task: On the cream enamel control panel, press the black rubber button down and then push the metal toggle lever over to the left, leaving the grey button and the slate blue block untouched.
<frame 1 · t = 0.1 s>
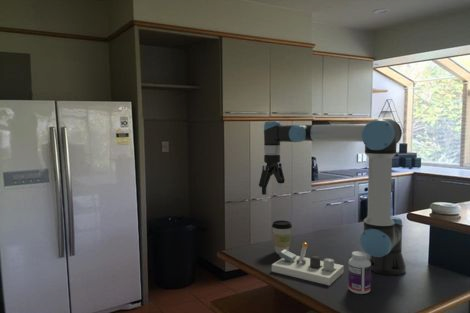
hand: (272, 198, 181), 28 cm above the kitchen island, fingers open, 13 cm apart
panel: (307, 271, 163), on the kitchen island
button grey: (328, 265, 157), point 5 cm above the kitchen island, slide at 0.0 cm
pill bottle: (359, 291, 144), on the kitchen island
lever: (303, 252, 166), point 7 cm above the kitchen island, hinge at 30.0°
slate blue block: (287, 255, 168), point 5 cm above the kitchen island, hinge at -15.0°
coffee cup: (282, 252, 188), on the kitchen island
button black: (315, 262, 161), point 5 cm above the kitchen island, slide at 0.0 cm
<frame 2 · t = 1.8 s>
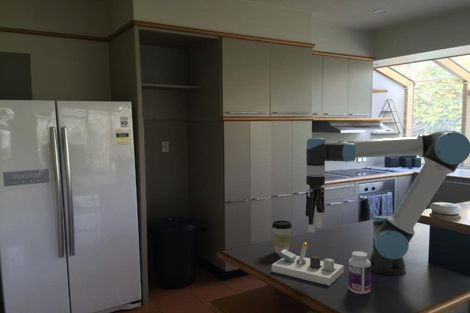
hand: (315, 229, 160), 19 cm above the kitchen island, fingers open, 7 cm apart
nothing on the kitchen island moved.
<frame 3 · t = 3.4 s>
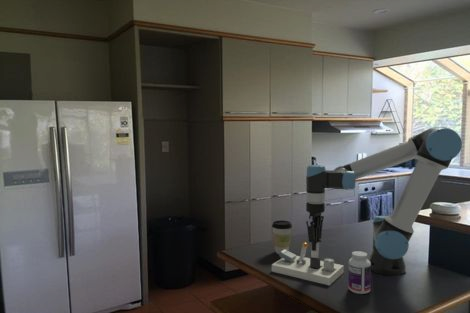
hand: (314, 257, 161), 7 cm above the kitchen island, fingers closed
button black: (315, 262, 161), point 5 cm above the kitchen island, slide at -0.2 cm, touching gripper
everything else where it was.
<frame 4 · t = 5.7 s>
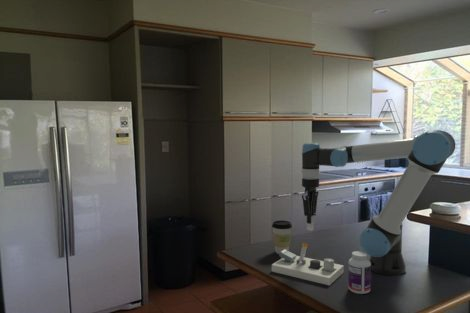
hand: (310, 229, 171), 16 cm above the kitchen island, fingers closed
button black: (315, 266, 161), point 3 cm above the kitchen island, slide at -1.8 cm
everything else where it was.
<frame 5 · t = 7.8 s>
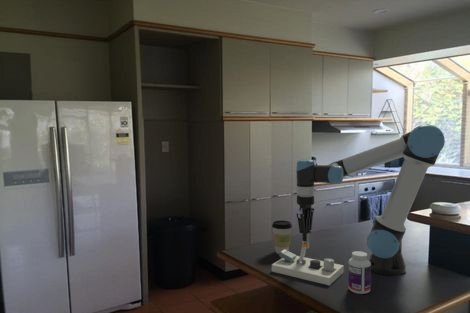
hand: (305, 247, 169), 9 cm above the kitchen island, fingers closed
lever: (303, 252, 166), point 8 cm above the kitchen island, hinge at 27.8°, touching gripper
everything else where it was.
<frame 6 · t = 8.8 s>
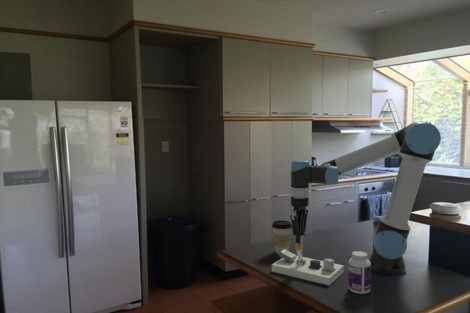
hand: (299, 250, 164), 9 cm above the kitchen island, fingers closed
lever: (299, 253, 163), point 8 cm above the kitchen island, hinge at -18.5°, touching gripper
everything else where it was.
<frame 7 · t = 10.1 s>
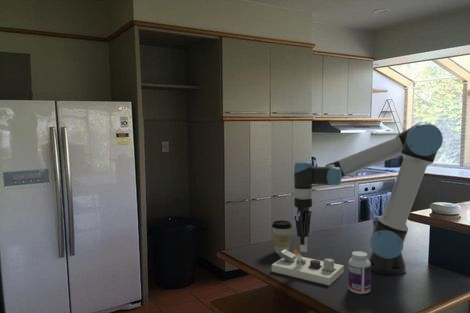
hand: (303, 251, 165), 8 cm above the kitchen island, fingers closed
lever: (298, 256, 162), point 7 cm above the kitchen island, hinge at -38.0°
everything else where it was.
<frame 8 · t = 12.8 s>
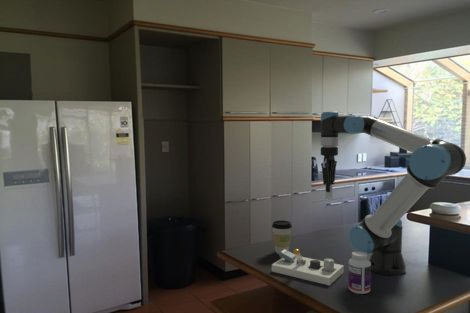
hand: (328, 198, 172), 29 cm above the kitchen island, fingers closed
nothing on the kitchen island moved.
at the end: button black slide at -1.8 cm; lever at -38° (first picture: +30°); button grey slide at 0.0 cm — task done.
